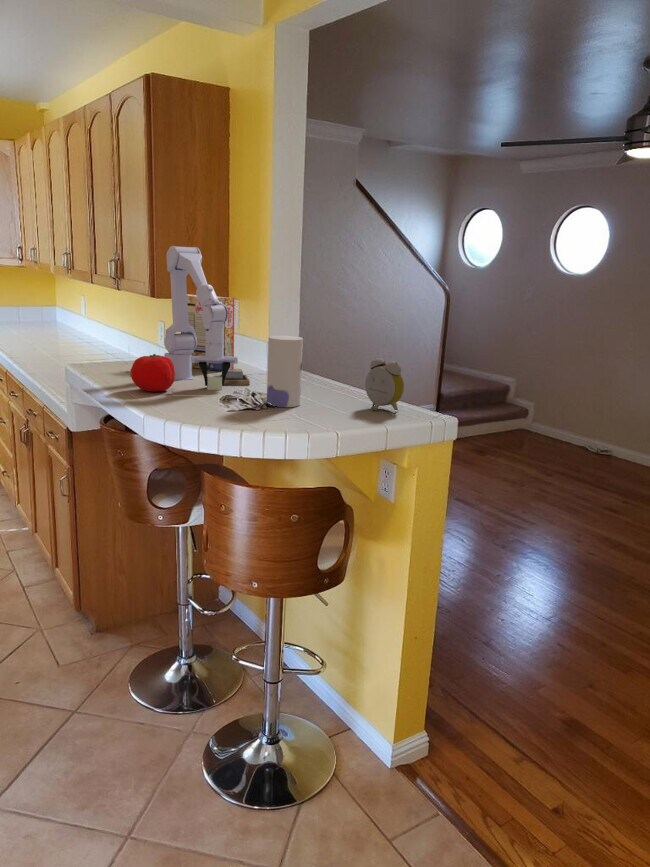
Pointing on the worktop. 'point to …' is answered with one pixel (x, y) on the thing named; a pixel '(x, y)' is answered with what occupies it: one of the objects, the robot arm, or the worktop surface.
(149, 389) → the tomato
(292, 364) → the container
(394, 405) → the alarm clock
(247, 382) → the brown wooden tray
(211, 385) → the beige cube
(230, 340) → the cereal box
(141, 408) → the worktop surface
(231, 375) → the grey block
